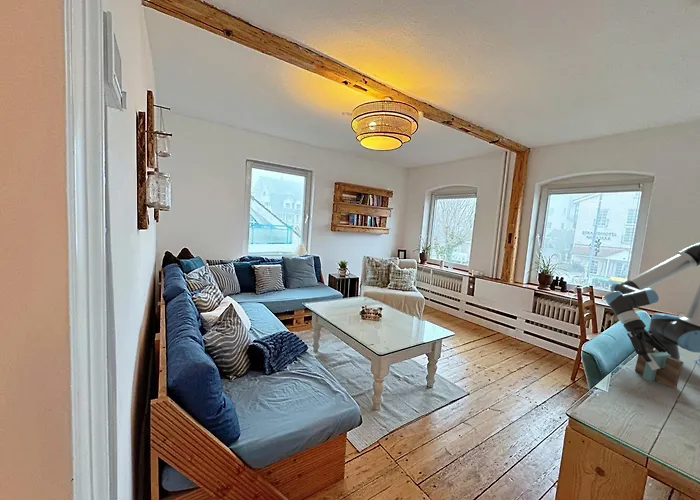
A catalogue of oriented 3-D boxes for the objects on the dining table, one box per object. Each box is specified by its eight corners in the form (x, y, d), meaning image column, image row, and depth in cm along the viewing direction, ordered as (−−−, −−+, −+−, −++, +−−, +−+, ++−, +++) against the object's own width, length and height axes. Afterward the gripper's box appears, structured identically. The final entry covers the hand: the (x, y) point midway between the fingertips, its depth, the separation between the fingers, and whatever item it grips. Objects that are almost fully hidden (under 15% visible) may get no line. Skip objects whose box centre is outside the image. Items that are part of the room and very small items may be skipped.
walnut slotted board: (638, 370, 144) (643, 346, 142) (676, 387, 130) (683, 361, 129) (634, 370, 143) (640, 347, 141) (673, 388, 130) (679, 362, 128)
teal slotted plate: (656, 375, 140) (662, 351, 138) (664, 379, 137) (670, 354, 135) (642, 377, 137) (648, 353, 135) (650, 381, 134) (656, 356, 132)
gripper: (640, 324, 151) (673, 368, 139) (607, 325, 145) (638, 372, 132) (655, 317, 146) (691, 363, 133) (621, 319, 139) (656, 367, 127)
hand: (665, 368), depth 133 cm, fingers open, 11 cm apart
